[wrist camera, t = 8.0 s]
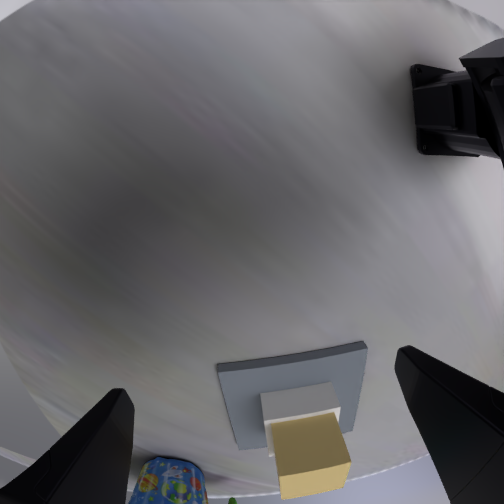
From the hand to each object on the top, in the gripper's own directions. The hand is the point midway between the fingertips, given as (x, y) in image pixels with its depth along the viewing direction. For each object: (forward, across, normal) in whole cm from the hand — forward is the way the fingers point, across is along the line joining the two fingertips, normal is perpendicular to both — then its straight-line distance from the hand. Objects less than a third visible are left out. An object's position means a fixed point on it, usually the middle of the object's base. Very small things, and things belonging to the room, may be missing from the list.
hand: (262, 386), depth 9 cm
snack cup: (+12, +13, +27) cm, 32 cm away
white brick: (+11, -2, +15) cm, 19 cm away
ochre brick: (+8, -2, +15) cm, 17 cm away
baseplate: (+12, -2, +15) cm, 20 cm away
